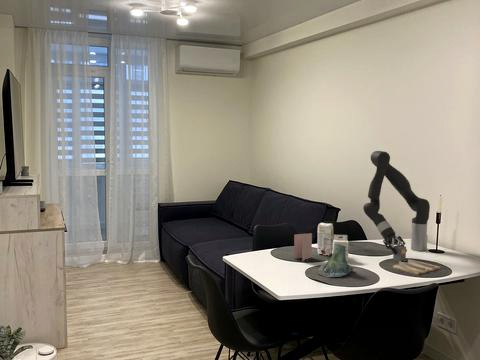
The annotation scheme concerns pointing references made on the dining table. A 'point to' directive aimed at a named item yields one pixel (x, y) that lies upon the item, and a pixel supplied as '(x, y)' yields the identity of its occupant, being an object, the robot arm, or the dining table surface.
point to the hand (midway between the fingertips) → (401, 252)
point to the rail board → (415, 267)
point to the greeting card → (303, 246)
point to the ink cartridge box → (341, 242)
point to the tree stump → (337, 263)
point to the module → (400, 253)
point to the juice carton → (325, 239)
